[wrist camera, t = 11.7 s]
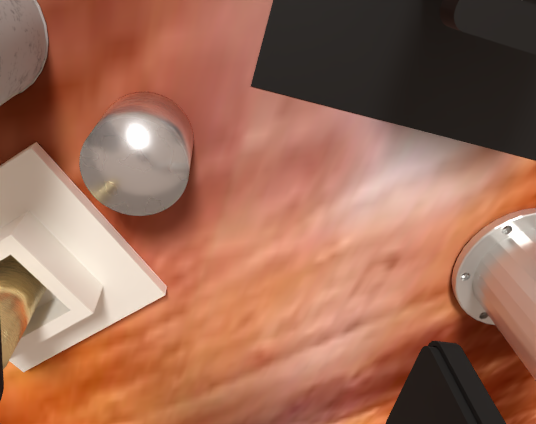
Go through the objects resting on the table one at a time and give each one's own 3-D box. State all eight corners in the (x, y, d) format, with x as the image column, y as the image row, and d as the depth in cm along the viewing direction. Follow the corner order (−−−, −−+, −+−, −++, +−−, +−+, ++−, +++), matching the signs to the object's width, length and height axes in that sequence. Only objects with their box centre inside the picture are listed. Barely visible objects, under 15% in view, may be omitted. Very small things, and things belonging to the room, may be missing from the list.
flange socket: (166, 286, 42) (161, 322, 38) (28, 362, 45) (8, 403, 41) (36, 141, 35) (12, 167, 31) (-119, 243, 38) (-160, 278, 34)
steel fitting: (211, 150, 37) (209, 184, 32) (139, 193, 38) (126, 232, 33) (157, 73, 34) (145, 96, 28) (81, 123, 35) (56, 153, 30)
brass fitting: (63, 277, 40) (23, 359, 32) (22, 301, 40) (-26, 386, 33) (24, 239, 38) (-29, 316, 30) (-18, 265, 39) (-80, 346, 31)
